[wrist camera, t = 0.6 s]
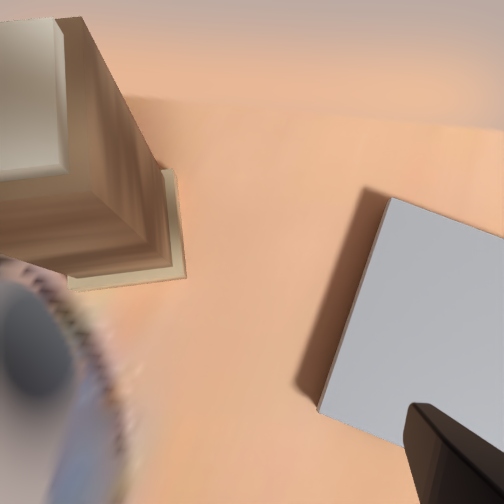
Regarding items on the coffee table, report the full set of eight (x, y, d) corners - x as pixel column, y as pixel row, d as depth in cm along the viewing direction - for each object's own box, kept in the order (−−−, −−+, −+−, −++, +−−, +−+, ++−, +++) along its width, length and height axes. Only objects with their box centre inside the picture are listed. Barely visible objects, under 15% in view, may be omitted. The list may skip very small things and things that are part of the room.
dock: (496, 482, 21) (515, 493, 19) (313, 407, 21) (318, 412, 20) (548, 267, 23) (569, 263, 21) (382, 205, 23) (392, 196, 22)
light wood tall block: (187, 278, 22) (104, 199, 9) (78, 292, 22) (-167, 231, 9) (176, 178, 24) (90, -20, 10) (74, 190, 23) (-150, 2, 10)
